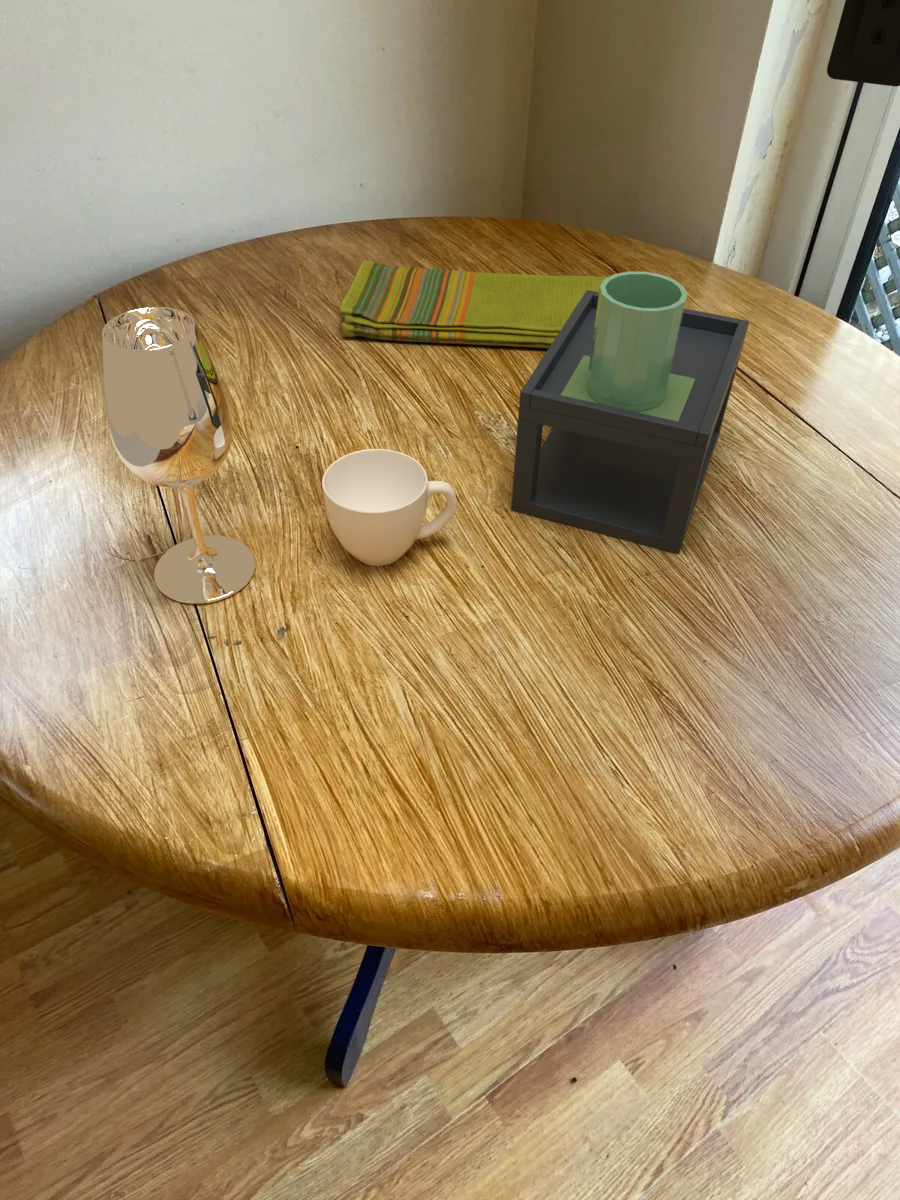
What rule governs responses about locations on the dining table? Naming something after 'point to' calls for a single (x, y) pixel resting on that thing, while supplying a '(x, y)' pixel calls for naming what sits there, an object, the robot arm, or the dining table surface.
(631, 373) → the tumbler
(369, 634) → the dining table surface
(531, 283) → the dish towel
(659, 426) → the tray
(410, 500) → the cup
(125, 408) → the wineglass
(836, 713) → the dining table surface
